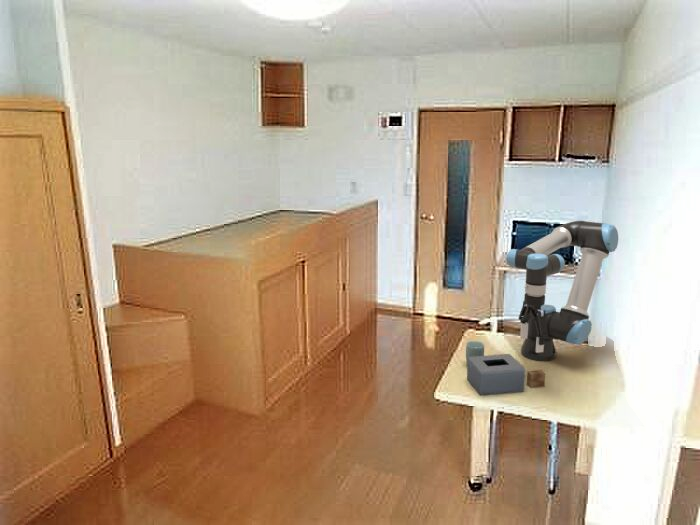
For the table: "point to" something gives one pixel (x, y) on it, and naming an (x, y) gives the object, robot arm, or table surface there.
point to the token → (535, 378)
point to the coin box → (495, 374)
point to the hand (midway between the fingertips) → (531, 345)
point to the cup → (474, 349)
